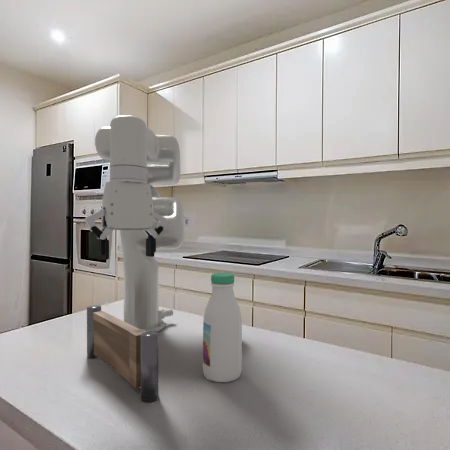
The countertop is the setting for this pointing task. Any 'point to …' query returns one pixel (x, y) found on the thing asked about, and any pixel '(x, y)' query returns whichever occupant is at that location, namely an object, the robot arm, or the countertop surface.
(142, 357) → the post
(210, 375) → the milk bottle
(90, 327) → the hinge post
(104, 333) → the walnut gate
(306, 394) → the countertop surface
